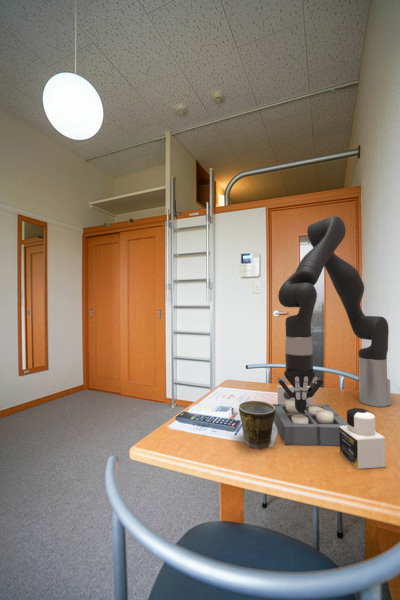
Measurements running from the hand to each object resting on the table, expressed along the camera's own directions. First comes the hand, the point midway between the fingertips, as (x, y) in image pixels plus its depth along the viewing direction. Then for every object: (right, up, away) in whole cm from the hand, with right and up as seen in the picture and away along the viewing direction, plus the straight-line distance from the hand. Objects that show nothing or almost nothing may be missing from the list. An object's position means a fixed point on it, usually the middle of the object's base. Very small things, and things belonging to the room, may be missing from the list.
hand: (300, 411), depth 80 cm
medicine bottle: (+11, -7, -12) cm, 18 cm away
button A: (+7, -5, +6) cm, 11 cm away
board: (+4, -7, +3) cm, 9 cm away
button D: (0, -5, 0) cm, 5 cm away
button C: (0, -3, +7) cm, 8 cm away
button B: (+7, -3, -1) cm, 8 cm away
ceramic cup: (-14, -8, -5) cm, 17 cm away
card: (+5, -8, +18) cm, 20 cm away
